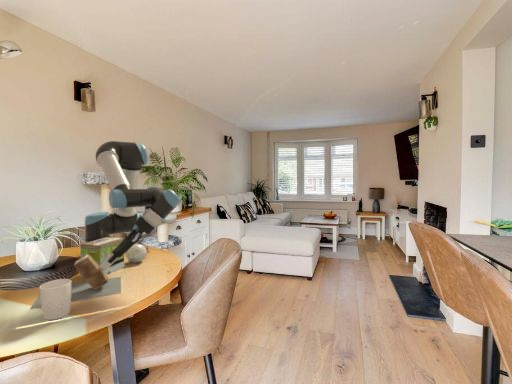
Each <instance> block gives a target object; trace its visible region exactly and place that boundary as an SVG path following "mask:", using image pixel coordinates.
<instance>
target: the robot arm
mask: <svg viewBox="0 0 512 384" xmlns="http://www.w3.org/2000/svg"><path fill="white" fill-rule="evenodd" d="M148 157H149V156H148V151H147V148H146V147H145V145H144V144H142V143H138V142H132V141H131V142H130V141H117V140H116V141H115V140H111V141H107V142H104V143H103V144H100V146H99V147H98V148H97V150H96V152H95V160H96V164H97V165H98V166H99V167H101V169H102V171H103V173H104V175H105V176H104V177H106V180H107V183H108V185H109V187H110V191H109V192H108V201H109V206H110V207H111V208H112V209H114V212H113V213H110V212H109V211H107V210H106V211H99V212H93V213H89V214H87V215H85V217H84V233H85V234H84V235H85V236H84V237H85V242H84V243H87V242H91V241H94V240H98V239H102V238H106V237H111V235H115V234H116V235H117V234H123V233H128V234H127V236H126V237H125V238H124V240H123V241H122V242H121V243H120V244H119V245H118V246H117V247H116V248H115V250H114V251H112V254H111V255H110V256H109V257H108V258H107V259H106V260H105V261H104V262H103V263H102V264H101V265H100V266H99V267H100V268H102V269H103V270H104V271H106V270H107V269H108V268H109V267H110V266H111V265H112V264H113V263H114V262H115V261H116V260H117V259H118V258H119V257H121V256H122V255H123V254H124V255H125V254H126V251H128V250H129V249H130V248H131V247H132V246H133V245H134V244H137V243H138V242H140V241H139V240H140V239H141V238H142V237H143V236H142V235H143V234H144V233H145V234H146V235H150V234H151V233H152V232H153V231H154V230H155V228H157V227H158V226H159V225H160V224H161V223H162V222H163V221H164V220H165V219H166V218H167V217H168V215H170V214H171V213H172V212H173V210H175V208H177V206H178V205H179V204H180V203H181V198H180V196H179V195H178V194H177V193H175V191H173V190H172V189H170V188H169V189H166V190H165V191H164V190H162V189H161V188H160V187H157V186H149V187H147V188H138V180H139V173H140V171H142V170H143V166H146V165H147V164H148ZM139 207H140V208H141V207H149V208H146V209H144V212H143V214H141V215H142V216H140V215H139V212H137V210H136V208H139Z"/></svg>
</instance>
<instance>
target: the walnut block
mask: <svg viewBox="0 0 512 384" xmlns="http://www.w3.org/2000/svg"><path fill="white" fill-rule="evenodd" d="M73 264H74V265H73V267H74V269H75V270H76V271H77V272H78V273H79V274H80V276H81V275H82V276H83V277H82V278H83V279H84V280H85V282H88V283H89V285H90V286H91V287H92V288H93V289H94V290H95V291H96V290H97V289H99V288H100V287H102V286H103V285H104V284H106V283H107V282H108V279H109V275H106V274H105V273H104V272H103V270H102V269H101V268H100V267H99V266H98V264H97V263H96V262H95V261H94V260H93V258H92V257H91V256H90V255H89V254H87V255H85V256H84V257H82V258H81V257H80V258H79V259H78V260H75V262H74V263H73Z"/></svg>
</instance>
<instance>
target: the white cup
mask: <svg viewBox="0 0 512 384" xmlns="http://www.w3.org/2000/svg"><path fill="white" fill-rule="evenodd" d="M71 284H73V282H72V279H69V278H59V279H53V280H49V281H45V282H44V283H42V284H41V285H39V288H38V289H39V295H40V298H41V306H42V307H41V311H42V318H43V319H46V320H48V322H51V321H57V320H60V319H62V318H63V317H64V316H66V315H68V314H69V313H70V312H71V306H72V305H71V304H72V302H71Z"/></svg>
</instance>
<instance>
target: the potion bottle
mask: <svg viewBox="0 0 512 384" xmlns="http://www.w3.org/2000/svg"><path fill="white" fill-rule="evenodd" d="M149 253H150V251H149V248H148V245H147V244H140V243H135V244H134V245H133V246H132V247H131V248H130V249H129V250H128V251H126V252H125V257H126V259H127V261H128V262H129V263H135V264H136V263H141V262H142V261H144V260H145V259H146V257H147V255H148V254H149Z"/></svg>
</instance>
